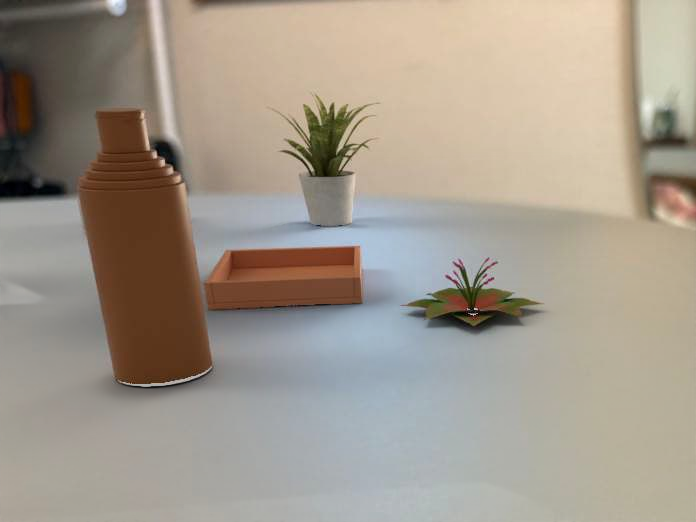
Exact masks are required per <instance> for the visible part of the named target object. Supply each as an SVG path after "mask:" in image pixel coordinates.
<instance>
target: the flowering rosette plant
mask: <svg viewBox="0 0 696 522" xmlns="http://www.w3.org/2000/svg"><path fill="white" fill-rule="evenodd" d="M457 260H458V262H459V263H457V262H456V261H451V263H452V264H453V265H454V267H456V268H458V269H459V271H460V274H461V277H462V280H463V282H464V283H463V282H462V280H461V278H460V277H459V275H458V272H456V270H452V273H453V274H454V275H455V277H457V279H458V280H459V282H460V283H459V282H458V280H456V279H455V278H452V276H451V275H448V274H446V275H444V276H445V279H447V280H448V281H451V282H452V283H453V284H454V285H455V286H456V288H454V287H447V288H444V289H440V290H437V291H435V292H433V293H432V292H431V293H430V292H428V293H426V294H425V295H427V296H431V297H432V298H423V299H417V300H414V301H411V302H408V303H407V304H400V305H398V307H409V308H411V307H412V308H420V309H426V312H425V315H426V316H424V317H423V319H422V321H426V320H429V319H432V318H436V317H438V316H442V315H445V314H447V313H451V315H452V316H453V317H456V318H457V319H460V320H462V321H464V322H465V323H468V324H470V325H471V326H473V327H475V326H476V325H478V324H480V323H482V322H483V321H485V320H488V319H489V318H491V317H493V316H494V315H495V313H494V312H493V311H500V312H503V313H506V314H510V315H512V316H516V317H519V318H522V319H525V317H524V316H523V314H522V311H521V310H520V308H524V307H530V306H538V305H544V303H542V302H538V301H536V300H535V301H534V300H531V299H527V298H525V297H512V298H511V296H512V295H514V294H515V292H512V291H507V290H502V289H499V288H495V287H490V288H483V286H485V285H488V284H489V283H490V282H492V281H494V280H495V277H494V276H492V277H490V278H488V279H487V280H485V281H483V280H484V279H485V278H486V277H488V273H487V271H488V270H489V269H491V268H492V267H493V266H495V265H498V263H499V262H498V260H497V261H493V262H491V264H490V265H488V266H485V267H484V265H485V263H487V262H488V261H490V257H489V256H488V257H487V258H486V259H485V260H484V262H483V264H482V265H481V266H480V268H479V270H478V271H477V273H476V275H475V277H474V280H473V282H472V286H470V282H469V278H468V275H467V270H466V267H465V266H464V263H463V261H462V260H461V259H460V258H459V257H458V258H457ZM483 267H484V269H483V270H482V268H483ZM470 270H471V272H473V270H472V269H470ZM472 274H473V273H471V276H472ZM481 277H482V278H481ZM480 278H481V279H480ZM482 281H483V282H482ZM481 282H482V283H481ZM464 285H465V286H464ZM509 297H510V298H509ZM433 298H434V299H433ZM467 308H468V309H470V310H467ZM474 308H477V309H478V310H474ZM480 310H487V311H480ZM462 311H468V313H469V312H470V311H472V312H473V311H474V312H477V311H479V313H478V314H476V315H474V316H473V315H470V314H468V313H466V312H462Z"/></svg>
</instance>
